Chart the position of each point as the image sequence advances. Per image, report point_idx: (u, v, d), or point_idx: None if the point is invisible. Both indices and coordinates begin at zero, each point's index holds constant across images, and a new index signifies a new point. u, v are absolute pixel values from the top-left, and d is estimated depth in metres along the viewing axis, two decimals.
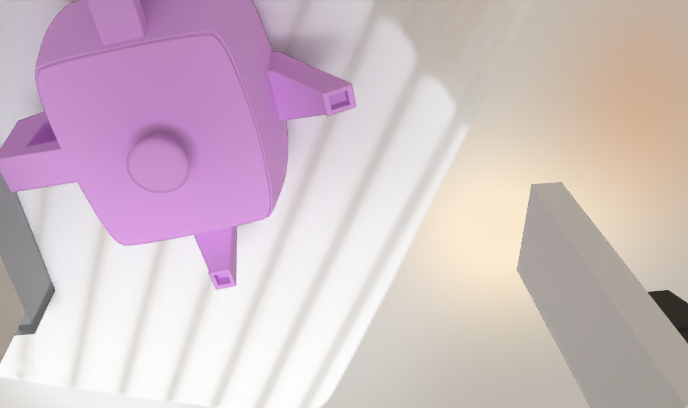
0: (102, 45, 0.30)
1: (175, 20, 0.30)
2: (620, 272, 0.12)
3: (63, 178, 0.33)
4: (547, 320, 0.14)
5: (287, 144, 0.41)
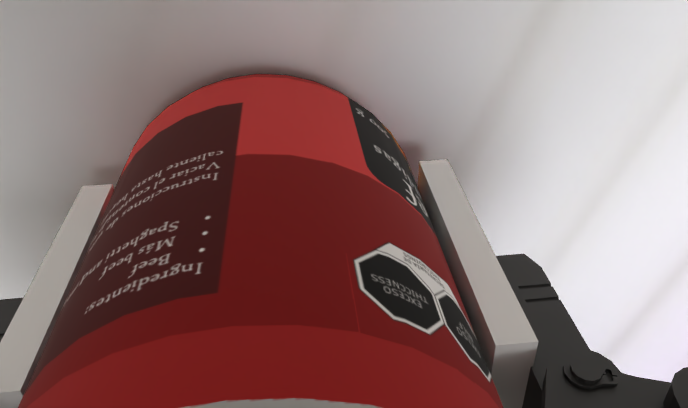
0: None
1: None
2: (475, 236, 0.13)
3: None
4: None
5: None
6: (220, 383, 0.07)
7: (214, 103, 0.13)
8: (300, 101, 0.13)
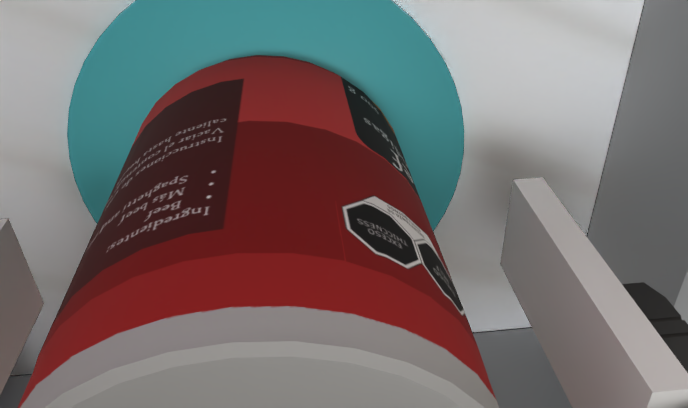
0: None
1: None
2: (595, 264, 0.12)
3: None
4: (528, 313, 0.14)
5: None
6: (226, 294, 0.08)
7: (217, 80, 0.14)
8: (296, 78, 0.14)
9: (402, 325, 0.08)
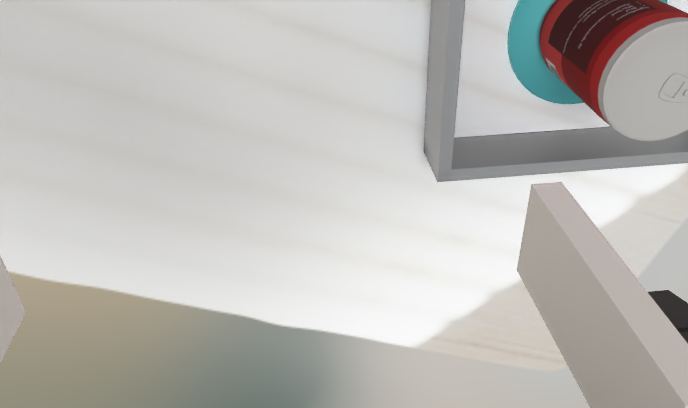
0: None
1: None
2: (620, 272, 0.12)
3: None
4: (547, 320, 0.14)
5: None
6: (674, 16, 0.34)
7: None
8: None
9: None
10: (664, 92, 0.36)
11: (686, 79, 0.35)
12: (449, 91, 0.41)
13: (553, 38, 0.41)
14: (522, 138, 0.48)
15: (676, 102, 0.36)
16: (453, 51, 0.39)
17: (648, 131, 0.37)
